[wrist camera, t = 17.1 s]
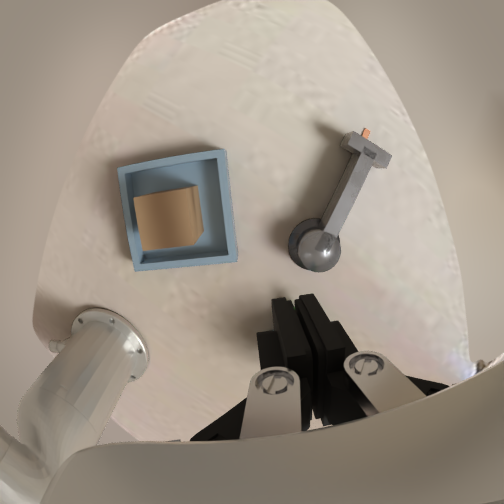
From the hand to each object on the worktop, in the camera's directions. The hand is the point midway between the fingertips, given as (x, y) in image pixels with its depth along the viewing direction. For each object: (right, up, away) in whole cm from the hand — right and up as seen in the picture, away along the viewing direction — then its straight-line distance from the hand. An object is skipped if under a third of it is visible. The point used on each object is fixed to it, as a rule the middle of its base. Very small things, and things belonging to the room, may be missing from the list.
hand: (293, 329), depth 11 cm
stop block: (-10, +7, +19) cm, 23 cm away
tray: (-10, +8, +19) cm, 23 cm away
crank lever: (+8, +8, +19) cm, 22 cm away
